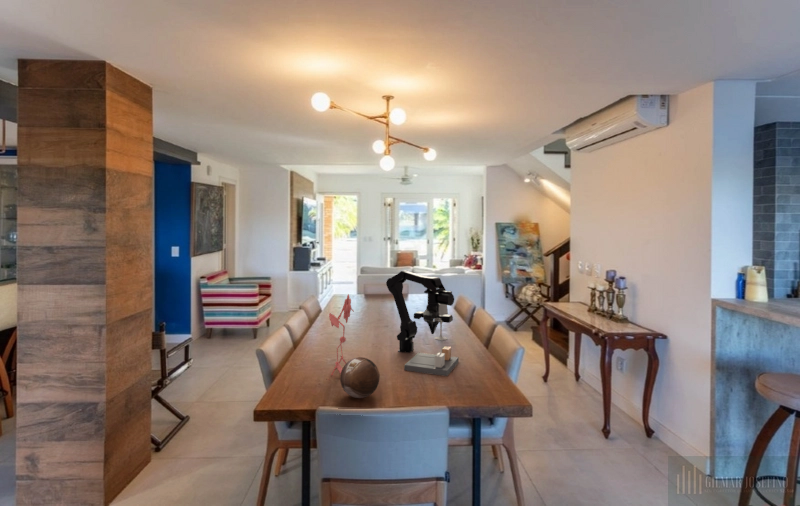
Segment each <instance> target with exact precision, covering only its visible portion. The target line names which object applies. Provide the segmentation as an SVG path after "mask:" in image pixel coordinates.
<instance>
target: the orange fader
mask: <svg viewBox="0 0 800 506" xmlns="http://www.w3.org/2000/svg"><path fill="white" fill-rule="evenodd" d="M441 353H445V360H449V359H450V358H451V357H452V346H445V345H444V347H443V348H442V349H441Z"/></svg>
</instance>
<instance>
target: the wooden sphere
mask: <svg viewBox="0 0 800 506" xmlns="http://www.w3.org/2000/svg"><path fill="white" fill-rule="evenodd" d="M380 379H381V378H380V371H379V368H378V366H377V365H376V364H375V362H373V361H372V360H371V359H369V358H367V357H363V356H362V357H361V356H359V357H354V358H352V359H350V360H348V361H347V362H346V364H345V363H344V365H343V367H342V371H341V374H340V376H339V380H340V384H341V385H340V386H341V387H342V390H343V391H344V392H345V393H346V394H347V395H348V396H350V397H352V398H355V399H363V398H367V397H369V396H371V395H372V394H374V392H375V391H376V390H377V388H378V386H379V382H380Z"/></svg>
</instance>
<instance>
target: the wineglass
mask: <svg viewBox="0 0 800 506" xmlns="http://www.w3.org/2000/svg"><path fill="white" fill-rule="evenodd" d="M439 304H440V303H439ZM439 312H440V315H439V316H443V315H445V314H448V315H449V312H448V305H443V304H440V306H439ZM439 324H440V328H439V329H440V330H439V331H440V334H439V336H435V337H434V339H435V340H437V341H446V340H448V338H447V337H446V336H443V334H442V331H443V330H442V329H443V327H442V325H443V322H442V321H441V322H439Z"/></svg>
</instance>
